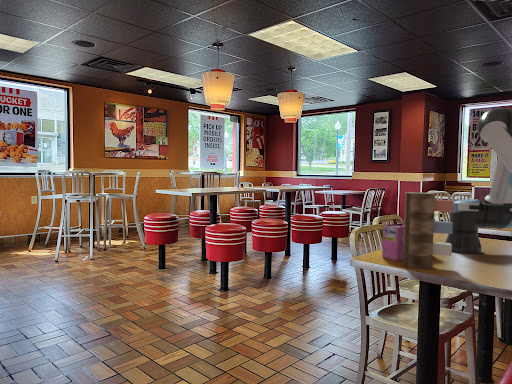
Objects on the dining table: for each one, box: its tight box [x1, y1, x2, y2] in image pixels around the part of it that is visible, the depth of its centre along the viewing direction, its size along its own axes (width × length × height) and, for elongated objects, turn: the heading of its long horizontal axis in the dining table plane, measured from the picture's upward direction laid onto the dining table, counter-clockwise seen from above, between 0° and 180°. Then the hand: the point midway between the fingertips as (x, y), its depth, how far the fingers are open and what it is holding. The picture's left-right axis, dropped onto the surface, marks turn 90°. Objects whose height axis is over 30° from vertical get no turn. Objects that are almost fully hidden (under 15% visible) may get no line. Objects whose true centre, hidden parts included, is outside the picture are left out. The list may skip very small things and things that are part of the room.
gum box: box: [381, 222, 404, 261], centre depth 160 cm, size 24×8×14 cm, turn 120°
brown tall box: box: [402, 191, 436, 271], centre depth 143 cm, size 10×10×27 cm
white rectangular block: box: [433, 241, 453, 257], centre depth 141 cm, size 9×4×4 cm, turn 71°
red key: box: [434, 199, 455, 213], centre depth 141 cm, size 9×4×4 cm, turn 71°
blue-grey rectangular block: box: [433, 220, 453, 235], centre depth 141 cm, size 9×4×4 cm, turn 71°
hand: (458, 206), depth 138 cm, fingers closed
